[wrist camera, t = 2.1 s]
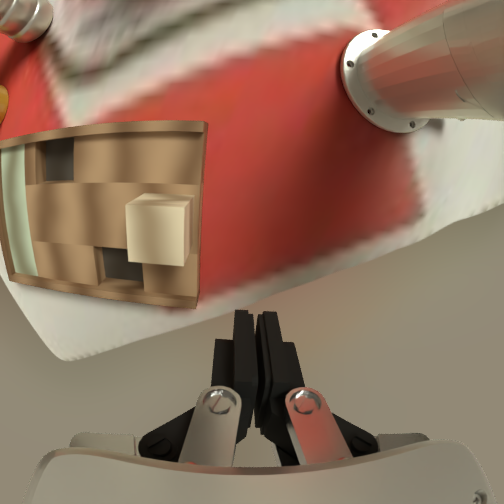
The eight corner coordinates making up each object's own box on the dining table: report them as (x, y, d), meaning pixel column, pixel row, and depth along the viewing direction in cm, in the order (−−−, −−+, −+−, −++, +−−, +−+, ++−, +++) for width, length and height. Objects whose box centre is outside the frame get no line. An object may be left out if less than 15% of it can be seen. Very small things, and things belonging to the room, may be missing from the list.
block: (194, 195, 26) (184, 207, 21) (192, 244, 27) (183, 266, 23) (144, 193, 25) (125, 204, 21) (145, 241, 27) (128, 261, 22)
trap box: (208, 123, 25) (203, 121, 22) (199, 292, 32) (195, 308, 29) (9, 140, 23) (-8, 142, 20) (22, 270, 30) (9, 280, 27)
